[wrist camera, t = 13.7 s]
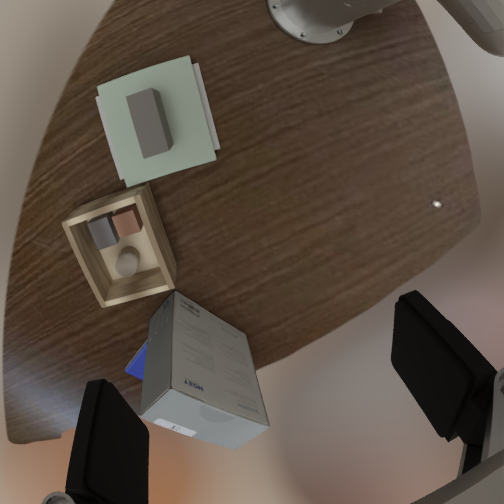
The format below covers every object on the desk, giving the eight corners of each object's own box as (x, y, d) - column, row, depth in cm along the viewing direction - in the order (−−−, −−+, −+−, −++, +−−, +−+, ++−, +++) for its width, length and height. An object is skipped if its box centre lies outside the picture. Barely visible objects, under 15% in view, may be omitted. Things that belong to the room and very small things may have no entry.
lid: (189, 57, 35) (188, 44, 27) (215, 157, 41) (220, 169, 33) (101, 87, 34) (78, 83, 26) (130, 184, 40) (114, 203, 32)
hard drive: (156, 331, 50) (124, 371, 53) (196, 351, 54) (161, 389, 56) (156, 325, 52) (125, 365, 55) (196, 345, 55) (162, 383, 58)
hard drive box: (148, 319, 50) (136, 416, 33) (174, 288, 49) (169, 385, 31) (220, 359, 57) (235, 451, 39) (248, 333, 55) (273, 427, 37)
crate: (148, 181, 41) (139, 194, 35) (176, 263, 47) (174, 288, 41) (78, 205, 41) (61, 222, 34) (111, 282, 46) (102, 308, 40)
